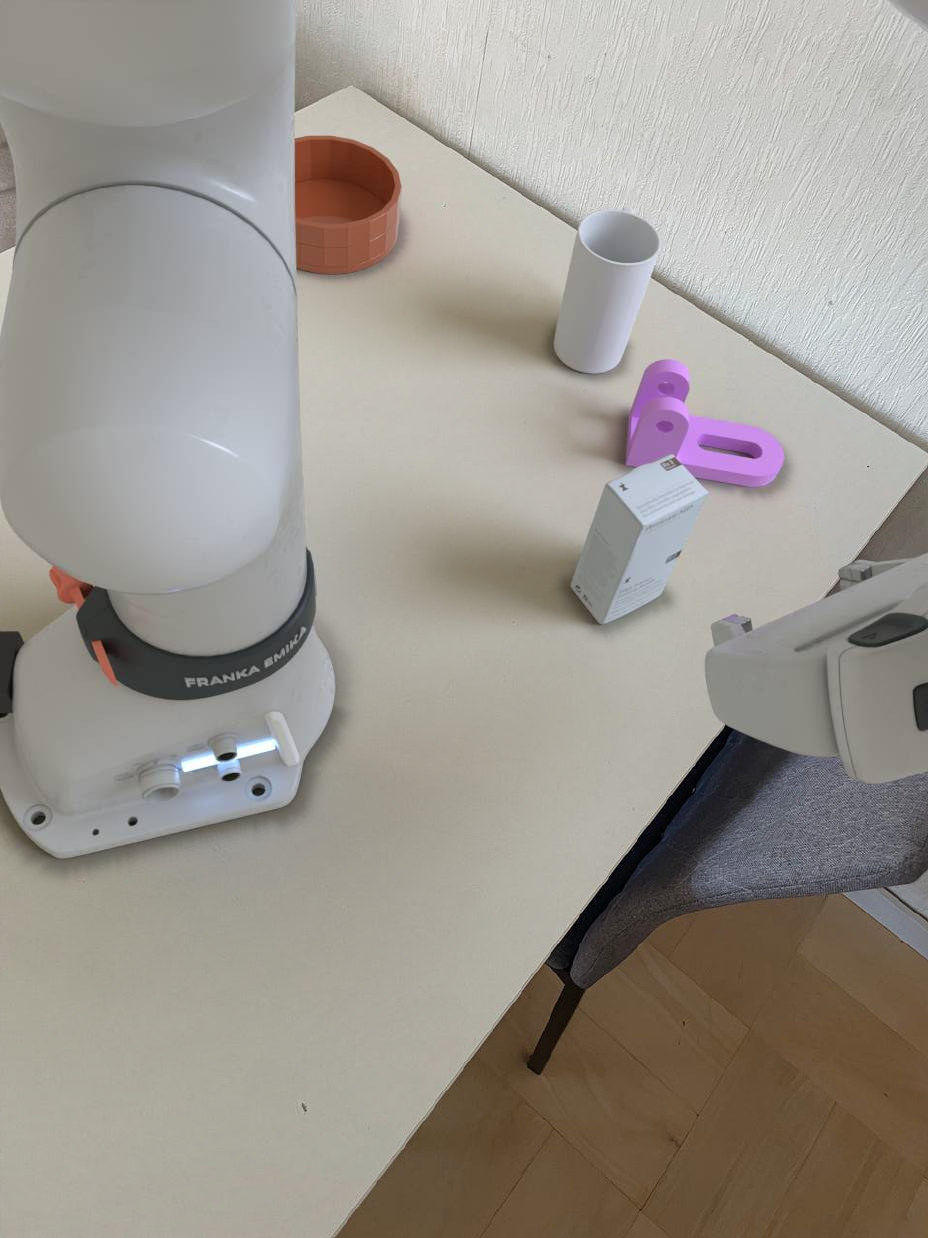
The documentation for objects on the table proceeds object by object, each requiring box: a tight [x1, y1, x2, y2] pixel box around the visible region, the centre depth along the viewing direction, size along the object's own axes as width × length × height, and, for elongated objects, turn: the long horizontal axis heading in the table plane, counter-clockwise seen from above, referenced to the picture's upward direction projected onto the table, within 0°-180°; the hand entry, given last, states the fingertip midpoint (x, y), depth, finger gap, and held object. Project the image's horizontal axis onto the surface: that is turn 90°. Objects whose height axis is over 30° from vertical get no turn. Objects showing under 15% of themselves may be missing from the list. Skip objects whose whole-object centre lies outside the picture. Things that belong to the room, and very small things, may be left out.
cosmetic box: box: [570, 454, 709, 625], centre depth 72 cm, size 6×4×12 cm
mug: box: [553, 206, 662, 375], centre depth 87 cm, size 10×7×12 cm, turn 164°
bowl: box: [295, 135, 403, 275], centre depth 94 cm, size 13×13×5 cm
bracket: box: [625, 358, 785, 488], centre depth 83 cm, size 13×6×7 cm, turn 82°
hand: (786, 603), depth 59 cm, fingers open, 8 cm apart
